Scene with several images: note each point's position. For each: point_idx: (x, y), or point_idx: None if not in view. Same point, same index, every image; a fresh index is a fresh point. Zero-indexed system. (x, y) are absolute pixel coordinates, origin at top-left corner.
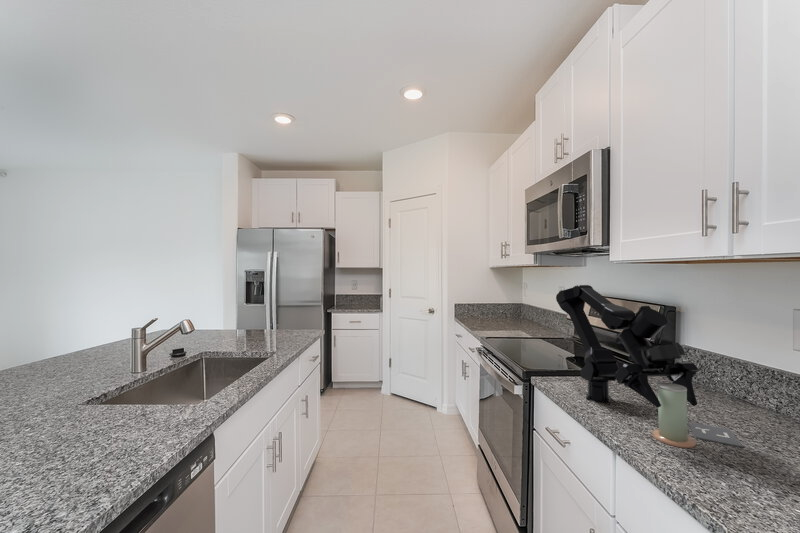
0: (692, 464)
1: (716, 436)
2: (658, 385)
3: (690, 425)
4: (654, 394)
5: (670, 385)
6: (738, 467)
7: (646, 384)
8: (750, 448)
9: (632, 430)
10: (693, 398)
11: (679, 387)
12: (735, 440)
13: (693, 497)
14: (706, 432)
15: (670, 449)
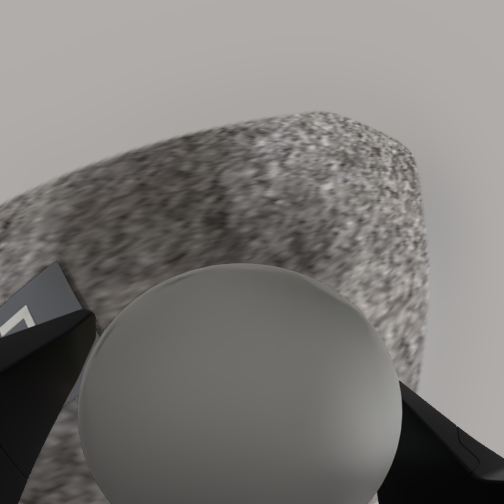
0: (319, 257)
1: None
2: (380, 481)
3: None
4: (422, 412)
5: (243, 456)
6: (206, 206)
7: (486, 460)
8: (39, 255)
9: None
10: (71, 326)
11: (203, 355)
12: (28, 290)
13: (414, 190)
14: None
15: None
